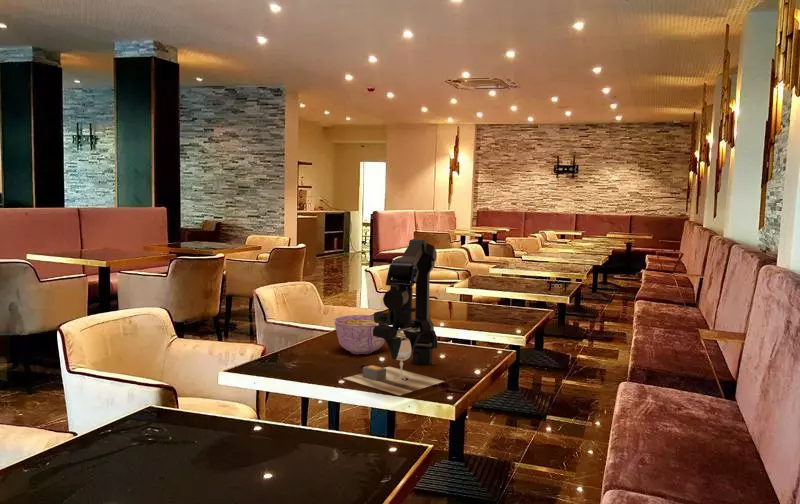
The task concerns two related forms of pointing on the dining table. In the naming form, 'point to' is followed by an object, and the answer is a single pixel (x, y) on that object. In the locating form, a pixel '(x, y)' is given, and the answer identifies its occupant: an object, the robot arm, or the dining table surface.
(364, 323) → the bowl of food
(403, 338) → the wineglass
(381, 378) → the block
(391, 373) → the subfloor board
